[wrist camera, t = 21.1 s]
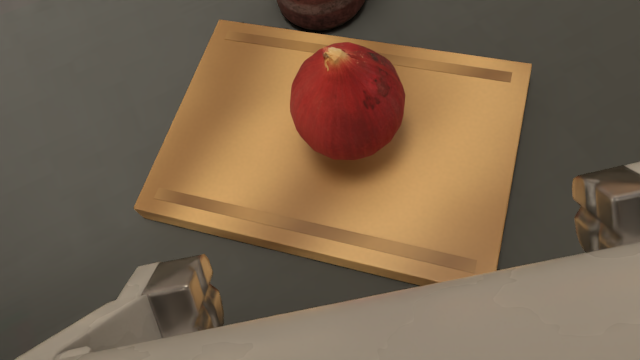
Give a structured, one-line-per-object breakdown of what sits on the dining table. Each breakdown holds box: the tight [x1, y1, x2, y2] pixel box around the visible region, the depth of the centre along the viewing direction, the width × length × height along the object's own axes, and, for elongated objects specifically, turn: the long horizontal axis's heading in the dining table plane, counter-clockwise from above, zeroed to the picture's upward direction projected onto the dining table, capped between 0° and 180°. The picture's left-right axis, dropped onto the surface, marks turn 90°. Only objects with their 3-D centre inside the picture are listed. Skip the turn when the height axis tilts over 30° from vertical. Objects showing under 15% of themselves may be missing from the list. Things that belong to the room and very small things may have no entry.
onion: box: [290, 42, 405, 160], centre depth 29 cm, size 6×6×8 cm
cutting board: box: [134, 20, 532, 286], centre depth 33 cm, size 20×14×2 cm
